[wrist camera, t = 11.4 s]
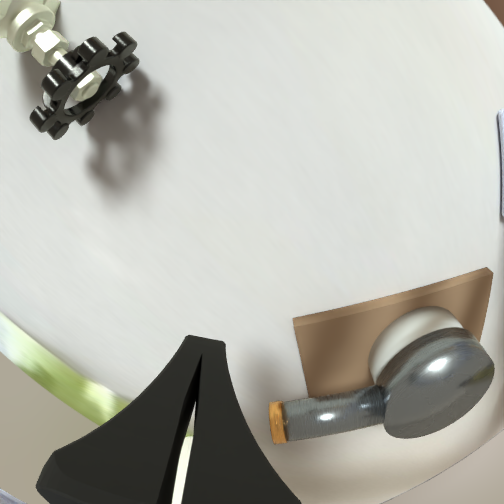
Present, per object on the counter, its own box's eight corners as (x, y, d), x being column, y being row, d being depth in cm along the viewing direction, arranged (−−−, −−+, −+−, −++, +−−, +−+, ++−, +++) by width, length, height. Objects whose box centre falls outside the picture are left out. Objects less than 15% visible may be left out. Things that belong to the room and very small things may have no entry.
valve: (2, 39, 13) (85, 134, 17) (-60, 35, 7) (17, 150, 11) (58, -32, 11) (157, 53, 15) (3, -58, 5) (107, 28, 9)
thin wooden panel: (486, 267, 20) (512, 290, 16) (461, 382, 25) (475, 407, 22) (292, 318, 22) (297, 354, 18) (315, 425, 27) (319, 456, 24)
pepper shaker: (207, 462, 31) (197, 541, 21) (165, 446, 30) (148, 528, 20) (231, 447, 29) (225, 537, 19) (186, 429, 28) (169, 524, 18)
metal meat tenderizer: (487, 312, 17) (509, 338, 14) (462, 391, 20) (475, 417, 17) (260, 365, 18) (260, 403, 16) (280, 436, 22) (281, 467, 19)
